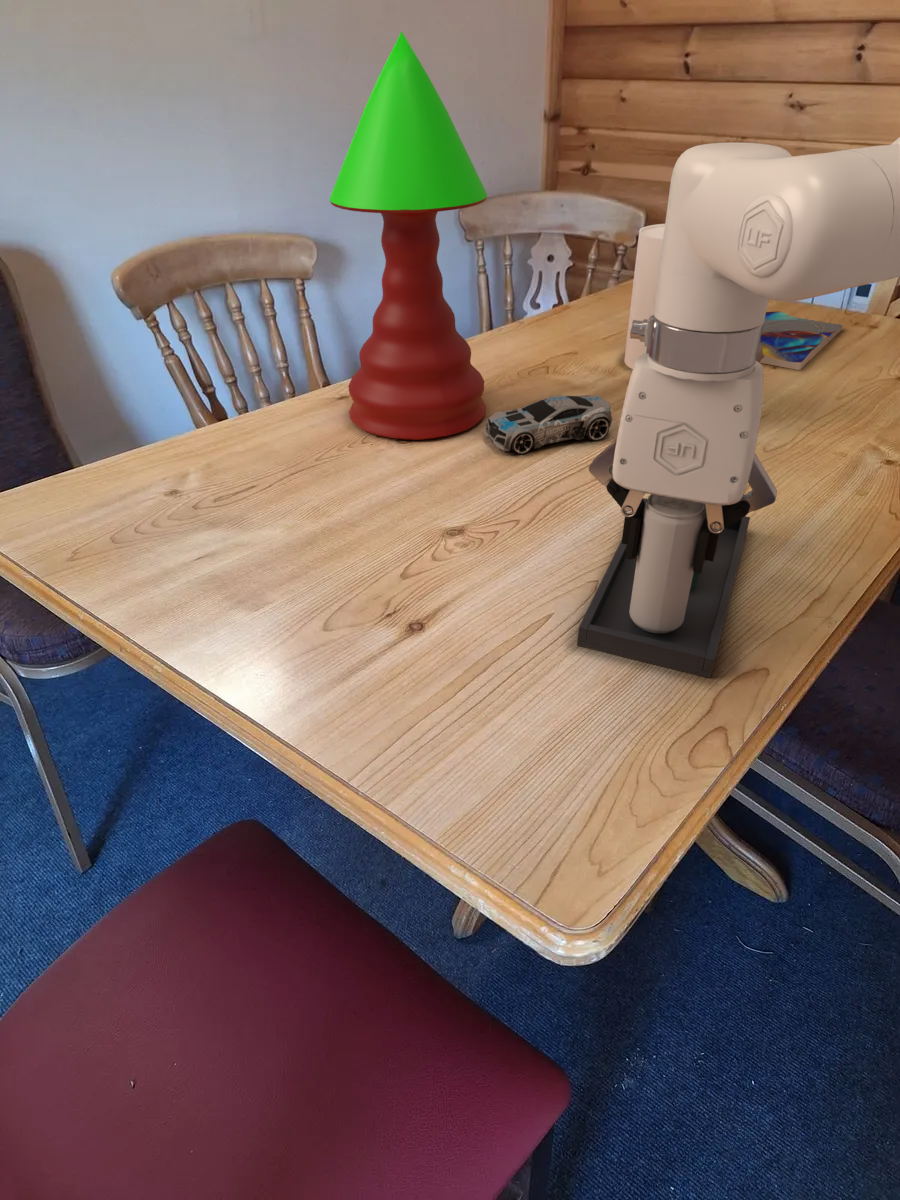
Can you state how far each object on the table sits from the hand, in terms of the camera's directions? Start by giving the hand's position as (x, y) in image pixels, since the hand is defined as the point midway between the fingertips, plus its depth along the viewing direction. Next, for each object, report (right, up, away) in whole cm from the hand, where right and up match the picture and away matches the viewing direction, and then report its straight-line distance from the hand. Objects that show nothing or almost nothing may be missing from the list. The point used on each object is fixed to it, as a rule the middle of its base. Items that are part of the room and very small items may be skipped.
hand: (666, 556), depth 66 cm
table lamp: (-23, +23, +47) cm, 57 cm away
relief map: (+39, +42, +71) cm, 92 cm away
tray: (+3, -2, +11) cm, 11 cm away
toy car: (-5, +18, +40) cm, 44 cm away
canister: (+17, +36, +63) cm, 75 cm away
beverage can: (0, -6, +4) cm, 7 cm away
